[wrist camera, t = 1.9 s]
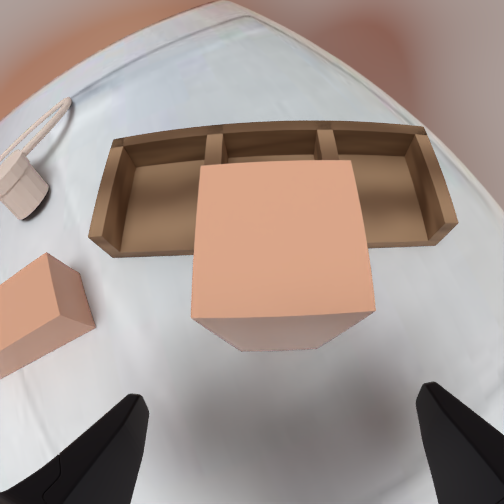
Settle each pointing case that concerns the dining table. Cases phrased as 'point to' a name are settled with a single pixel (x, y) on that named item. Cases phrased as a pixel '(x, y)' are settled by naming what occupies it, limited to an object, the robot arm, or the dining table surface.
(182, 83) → the dining table surface
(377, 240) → the tray
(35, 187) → the toilet paper hanger
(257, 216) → the clay bar
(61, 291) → the clay bar
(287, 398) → the dining table surface
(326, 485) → the dining table surface
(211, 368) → the dining table surface
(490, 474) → the robot arm
